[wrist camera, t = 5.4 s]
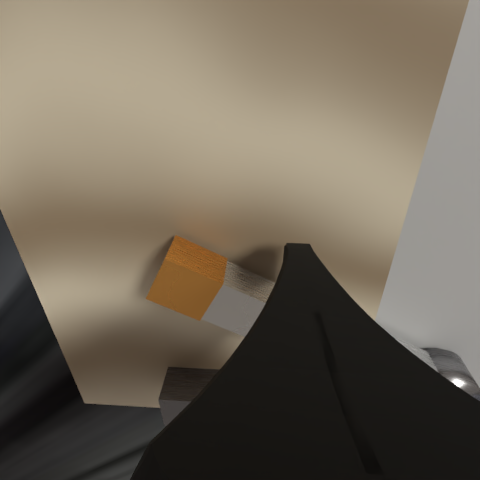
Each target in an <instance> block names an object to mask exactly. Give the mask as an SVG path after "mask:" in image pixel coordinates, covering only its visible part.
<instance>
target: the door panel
mask: <svg viewBox="0 0 480 480" xmlns="http://www.w3.org/2000/svg"><path fill="white" fill-rule="evenodd" d="M468 3H469V0H0V209H1V212H2V214H3V216H4V219H5V221H6V223H7V226H8V228H9V230H10V232H11V235H12V237H13V239H14V242H15V244H16V246H17V249H18V251H19V253H20V256H21V258H22V260H23V262H24V265H25V267H26V269H27V272H28V274H29V276H30V279H31V281H32V283H33V285H34V288H35V290H36V292H37V295H38V297H39V299H40V302H41V304H42V306H43V308H44V311H45V313H46V315H47V318H48V320H49V322H50V325H51V327H52V329H53V331H54V334H55V336H56V338H57V341H58V343H59V345H60V348H61V350H62V352H63V355H64V357H65V359H66V361H67V364H68V366H69V368H70V371H71V373H72V375H73V378H74V380H75V382H76V384H77V387H78V389H79V391H80V394H81V396H82V398H83V401H84V403H87V404H104V405H121V406H138V407H154V408H160V405H159V401H158V399H159V396H160V392H161V389H162V386H163V382H164V379H165V376H166V372H167V369H168V367H183V368H202V369H221V368H222V366H223V365H224V364H225V363H226V362H227V360H228V359H229V358H230V357H231V355H232V354H233V353H234V351H235V350H236V349H237V347H238V346H239V344H240V343H241V342H242V340H243V339H244V338H245V337H244V336H241V335H239V334H236V333H234V332H231V331H229V330H227V329H224V328H222V327H219V326H217V325H214V324H212V323H210V322H207V321H205V320H202V319H201V320H200V321H198V320H196V319H194V318H191V317H189V316H186V315H184V314H181V313H179V312H176V311H174V310H172V309H169V308H167V307H164V306H162V305H159V304H157V303H154V302H152V301H149V300H147V299H146V297H147V295H148V292H149V290H150V288H151V286H152V284H153V282H154V280H155V277H156V275H157V273H158V271H159V269H160V267H161V265H162V263H163V261H164V258H165V256H166V254H167V252H168V250H169V248H170V246H171V244H172V242H173V240H174V237H175V235H177V236H179V237H182V238H184V239H186V240H188V241H190V242H193V243H195V244H197V245H199V246H201V247H204V248H206V249H208V250H210V251H212V252H214V253H217V254H219V255H221V256H223V257H225V258H228V259H227V261H229V262H231V263H233V264H236V265H238V266H240V267H242V268H244V269H247V270H249V271H251V272H253V273H255V274H258V275H260V276H262V277H264V278H266V279H268V280H271V281H273V282H275V283H276V280H277V277H278V275H279V272H280V270H281V266H282V263H283V254H284V246H285V245H286V243H305V244H310V245H311V247H312V249H313V251H314V252H315V253H316V255H317V256H318V258H319V259H320V260H321V262H322V263H323V264H324V265H325V267H326V268H327V269H328V271H329V272H330V273H331V274H332V276H333V277H334V278H335V279H336V280H337V281H338V283H339V284H340V285H341V286H342V287H343V288H344V290H345V291H346V292H347V293H348V294H349V295H350V296H351V297H352V299H353V300H354V301H355V302H356V303H357V304H358V305H359V306H360V307H361V308H362V309H363V310H364V311H365V312H366V313H367V314H368V315H369V316H370V317H371V318H372V319H373V320H374V321H375V319H376V315H377V312H378V308H379V305H380V302H381V298H382V295H383V291H384V288H385V285H386V281H387V278H388V274H389V271H390V268H391V264H392V261H393V257H394V254H395V251H396V247H397V244H398V240H399V237H400V234H401V230H402V227H403V223H404V220H405V217H406V213H407V210H408V206H409V203H410V200H411V196H412V193H413V189H414V186H415V183H416V179H417V176H418V172H419V169H420V166H421V162H422V159H423V155H424V152H425V149H426V145H427V142H428V138H429V135H430V132H431V128H432V125H433V121H434V118H435V115H436V111H437V108H438V104H439V101H440V98H441V94H442V91H443V87H444V84H445V81H446V77H447V74H448V70H449V67H450V64H451V60H452V57H453V53H454V50H455V47H456V43H457V40H458V37H459V33H460V30H461V26H462V23H463V20H464V16H465V13H466V9H467V6H468Z"/></svg>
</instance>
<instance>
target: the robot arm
mask: <svg viewBox="0 0 480 480" xmlns="http://www.w3.org/2000/svg"><path fill="white" fill-rule="evenodd" d="M130 480H480V401H479V400H477V399H476V398H474V397H473V396H471V395H470V394H468V393H467V392H465V391H464V390H462V389H461V388H459V387H458V386H457V385H455V384H454V383H452V382H451V381H449V380H448V379H446V378H445V377H444V376H442V375H441V374H440V373H438V372H437V371H436V370H434V369H433V368H432V367H430V366H429V365H428V364H426V363H425V362H424V361H422V360H421V359H420V358H418V357H417V356H416V355H414V354H413V353H412V352H411V351H409V350H408V349H407V348H406V347H404V346H403V345H402V344H401V343H399V342H398V341H397V340H396V339H395V338H394V337H392V336H391V335H390V334H389V333H388V332H387V331H386V330H384V329H383V328H382V327H381V326H380V325H379V324H378V323H376V322H375V321H374V320H373V319H372V318H371V317H370V316H369V315H368V314H367V313H366V312H365V311H364V310H363V309H362V308H361V307H360V306H359V305H358V304H357V303H356V302H355V301H354V300H353V299H352V297H351V296H350V295H349V294H348V293H347V292H346V291H345V290H344V288H343V287H342V286H341V285H340V284H339V283H338V281H337V280H336V279H335V278H334V277H333V276H332V274H331V273H330V272H329V271H328V269H327V268H326V267H325V265H324V264H323V263H322V262H321V260H320V259H319V258H318V256H317V255H316V253H315V252H314V251H313V249H312V247H311V245H310V244H305V243H286V245H285V246H284V254H283V263H282V266H281V270H280V272H279V275H278V277H277V280H276V283H275V285H274V287H273V289H272V291H271V293H270V295H269V297H268V299H267V301H266V303H265V305H264V307H263V309H262V311H261V313H260V314H259V316H258V318H257V319H256V321H255V323H254V324H253V326H252V327H251V329H250V330H249V332H248V333H247V335H246V336H245V338H244V339H243V340H242V342H241V343H240V344H239V346H238V347H237V349H236V350H235V351H234V353H233V354H232V355H231V357H230V358H229V359H228V360H227V362H226V363H225V364H224V365H223V366H222V368H221V369H220V370H219V371H218V372H217V373H216V374H215V376H214V377H213V378H212V379H211V380H210V381H209V382H208V384H207V385H206V386H205V387H204V388H203V389H202V391H201V392H200V393H199V394H198V395H197V396H196V397H195V398H194V399H193V400H192V401H191V402H190V403H189V404H188V405H187V406H186V407H185V408H184V409H183V410H182V411H181V412H180V413H179V414H178V415H177V416H176V417H175V418H174V419H173V420H172V421H171V422H170V423H169V424H168V425H167V426H166V427H165V428H164V429H163V430H162V431H161V432H160V433H159V434H158V435H157V436H156V437H155V438H154V439H153V440H152V441H151V442H150V443H149V445H148V447H147V449H146V450H145V452H144V454H143V456H142V458H141V460H140V461H139V463H138V465H137V467H136V469H135V471H134V473H133V475H132V477H131V479H130Z"/></svg>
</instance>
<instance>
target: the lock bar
mask: <svg viewBox="0 0 480 480" xmlns="http://www.w3.org/2000/svg"><path fill="white" fill-rule="evenodd" d="M227 259H228V258H225V257H223V256H221V255H219V254H217V253H214V252H212V251H210V250H208V249H206V248H204V247H201V246H199V245H197V244H195V243H193V242H190V241H188V240H186V239H184V238H182V237H179V236H177V235H175V237H174V240H173V242H172V244H171V246H170V248H169V250H168V252H167V254H166V256H165V258H164V261H163V263H162V265H161V267H160V269H159V271H158V273H157V275H156V277H155V280H154V282H153V284H152V286H151V288H150V290H149V292H148V295H147V297H146V299H147V300H149V301H152V302H154V303H157V304H159V305H162V306H164V307H167V308H169V309H172V310H174V311H176V312H179V313H181V314H184V315H186V316H189V317H191V318H194V319H196V320H198V321H200V320H201V319H202V320H205V321H207V322H210V323H212V324H214V325H217V326H219V327H222V328H224V329H227V330H229V331H231V332H234V333H236V334H239V335H241V336H244V337H245V336H246V335H247V333H248V332H249V330H250V329H251V327H252V326H253V324H254V323H255V321H256V319H257V318H258V316H259V314H260V313H261V311H262V309H263V307H264V305H265V303H266V301H267V299H268V297H269V295H270V293H271V291H272V289H273V287H274V285H275V282H273V281H271V280H268V279H266V278H264V277H262V276H260V275H258V274H255V273H253V272H251V271H249V270H247V269H244V268H242V267H240V266H238V265H236V264H233V263H231V262H229V261H227ZM392 337H394V336H392ZM394 338H395V339H396V340H397V341H398V342H399V343H401V344H402V345H403V346H404V347H406V348H407V349H408V350H409V351H411V352H412V353H413V354H414V355H416V356H417V357H418V358H420V359H421V360H422V361H424V362H425V363H426V364H428V365H429V366H430V367H432V368H433V369H434V370H436V371H437V372H438V373H440V374H441V375H442V376H444V377H445V378H446V379H448V380H449V381H451V382H452V383H454V384H455V385H457V386H458V387H459V388H461V389H462V390H464V391H465V392H467V393H468V394H470V395H471V396H473V397H474V398H476V399H477V400H479V401H480V388H479V386H478V385H477V383H476V381H475V380H474V378H473V377H472V375H471V373H470V372H469V370H468V369H467V367H466V365H465V364H464V362H463V361H462V359H461V358H460V356H458V355H457V354H456V353H454V352H452V351H448V350H444V349H429V350H422V349H420V348H418V347H416V346H413V345H411V344H409V343H407V342H405V341H402V340H400V339H398V338H396V337H394Z"/></svg>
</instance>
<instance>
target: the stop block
mask: <svg viewBox="0 0 480 480" xmlns="http://www.w3.org/2000/svg"><path fill="white" fill-rule="evenodd" d="M219 370H220V369H202V368H183V367H168V369H167V372H166V376H165V379H164V382H163V386H162V389H161V392H160V396H159V399H158V401H159V405H160V409H161V414H162V418H163V422H164V425H166V426H167V425H168V424H169V423H170V422H171V421H172V420H173V419H174V418H175V417H176V416H177V415H178V414H179V413H180V412H181V411H182V410H183V409H184V408H185V407H186V406H187V405H188V404H189V403H190V402H191V401H192V400H193V399H194V398H195V397H196V396H197V395H198V394H199V393H200V392H201V391H202V389H203V388H204V387H205V386H206V385H207V384H208V382H209V381H210V380H211V379H212V378H213V377H214V376H215V374H216V373H217V372H218V371H219Z"/></svg>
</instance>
